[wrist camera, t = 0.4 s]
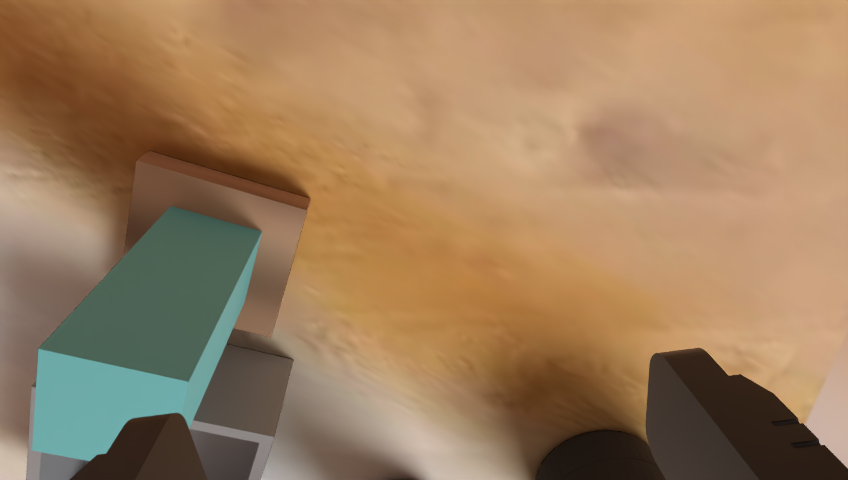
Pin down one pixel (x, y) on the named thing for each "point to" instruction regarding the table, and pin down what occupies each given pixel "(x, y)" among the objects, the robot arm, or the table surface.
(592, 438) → the pen holder
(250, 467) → the bin
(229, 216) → the base
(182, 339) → the strut
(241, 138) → the table surface
